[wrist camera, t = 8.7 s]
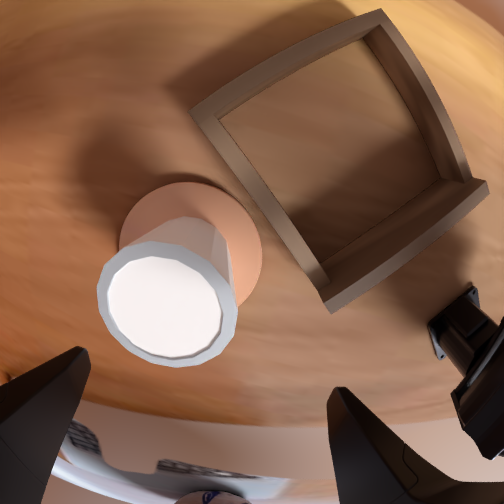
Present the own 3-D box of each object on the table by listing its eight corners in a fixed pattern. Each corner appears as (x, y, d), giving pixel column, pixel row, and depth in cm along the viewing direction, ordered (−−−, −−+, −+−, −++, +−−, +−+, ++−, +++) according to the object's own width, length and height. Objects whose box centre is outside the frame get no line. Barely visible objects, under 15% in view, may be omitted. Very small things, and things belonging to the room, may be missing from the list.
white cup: (221, 314, 20) (212, 383, 14) (132, 283, 19) (92, 340, 13) (255, 227, 18) (261, 274, 12) (154, 192, 17) (105, 219, 11)
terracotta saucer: (289, 268, 20) (290, 273, 19) (183, 334, 22) (181, 340, 21) (202, 150, 17) (200, 150, 16) (99, 239, 19) (94, 242, 18)
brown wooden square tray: (452, 182, 18) (489, 193, 14) (314, 281, 21) (331, 314, 16) (364, 23, 14) (390, -1, 10) (196, 117, 16) (181, 107, 12)
